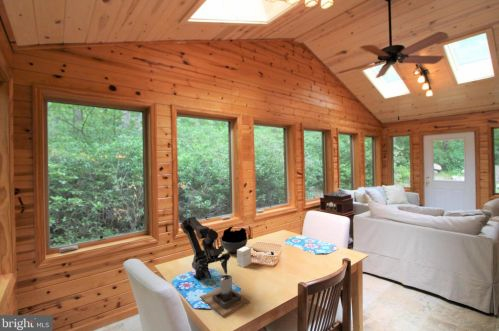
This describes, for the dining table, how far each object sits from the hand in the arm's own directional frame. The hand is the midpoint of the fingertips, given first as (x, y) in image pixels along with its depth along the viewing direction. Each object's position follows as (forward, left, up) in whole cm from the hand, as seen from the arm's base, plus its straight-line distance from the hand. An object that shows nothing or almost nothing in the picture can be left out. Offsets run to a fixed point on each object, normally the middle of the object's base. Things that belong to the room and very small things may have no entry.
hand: (218, 276), depth 129 cm
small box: (-19, +33, -10) cm, 39 cm away
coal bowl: (-41, +42, -10) cm, 59 cm away
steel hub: (+8, -1, -9) cm, 12 cm away
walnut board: (+6, -1, -10) cm, 12 cm away
